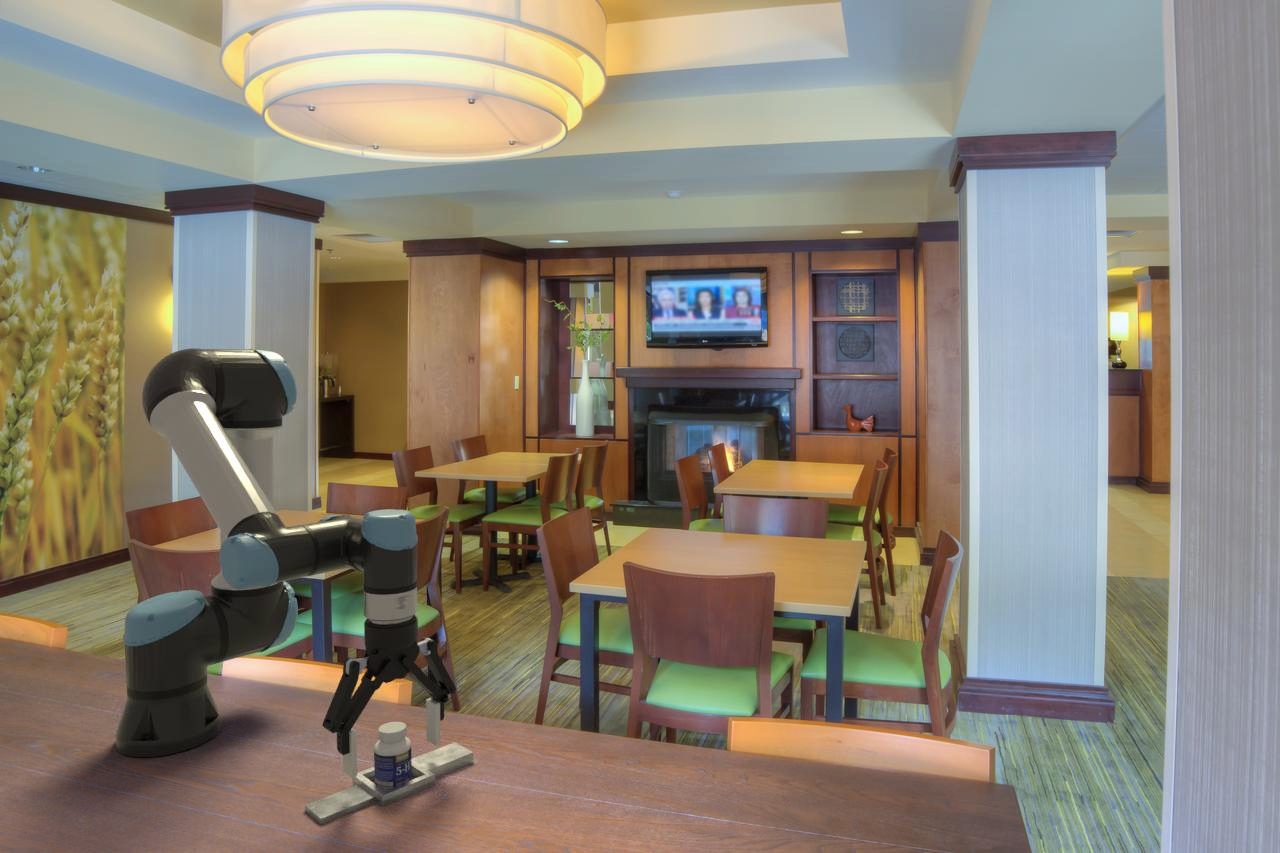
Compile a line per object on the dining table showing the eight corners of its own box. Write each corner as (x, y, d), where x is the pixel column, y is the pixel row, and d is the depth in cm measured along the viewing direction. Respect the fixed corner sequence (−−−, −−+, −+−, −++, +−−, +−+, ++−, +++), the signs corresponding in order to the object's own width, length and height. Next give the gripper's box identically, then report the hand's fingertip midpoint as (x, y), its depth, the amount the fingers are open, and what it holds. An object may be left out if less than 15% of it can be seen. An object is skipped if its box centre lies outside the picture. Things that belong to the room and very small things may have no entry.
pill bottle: (401, 796, 118) (399, 736, 118) (368, 792, 119) (366, 733, 119) (418, 778, 124) (416, 721, 123) (386, 775, 125) (384, 718, 124)
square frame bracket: (327, 829, 110) (326, 818, 110) (299, 805, 116) (298, 794, 116) (480, 766, 128) (479, 756, 127) (449, 748, 133) (448, 738, 133)
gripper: (319, 643, 108) (323, 798, 110) (477, 604, 126) (478, 738, 128) (295, 630, 113) (299, 778, 115) (449, 594, 131) (451, 723, 133)
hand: (393, 757), depth 121 cm, fingers open, 13 cm apart
